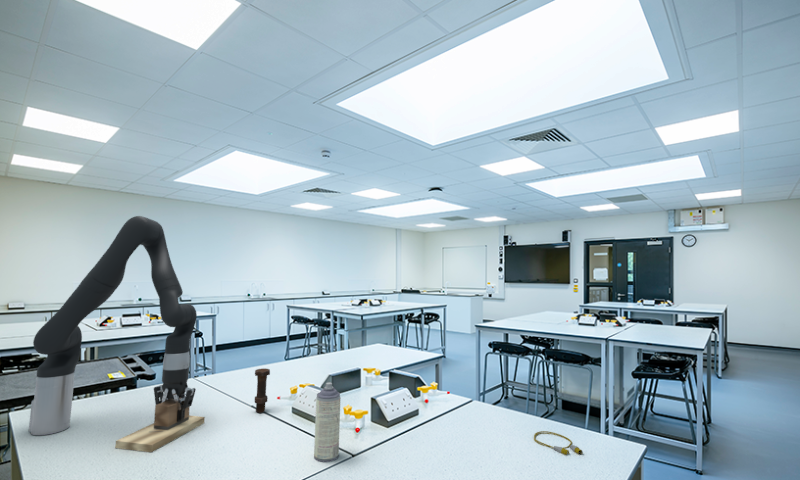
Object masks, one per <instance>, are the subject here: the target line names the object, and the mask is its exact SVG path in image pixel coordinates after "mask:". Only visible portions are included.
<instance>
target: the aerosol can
mask: <svg viewBox="0 0 800 480" xmlns="http://www.w3.org/2000/svg"><path fill="white" fill-rule="evenodd" d="M340 418H341V393H340V392H339V391H338V390H337V389H336V388H335V387H334V386H333V383H332V382H326V383H325V386H324V387H323V388H322V389H321V390H320V391H319V392H318V393H316V398H315V421H314V422H315V423H314V443H313V444H314V450H313V459H314V460H315V461H317V462H320V463H321V462H322V463H329V462H333V461H335V460H337V459H338V458H339V452H340V450H339V449H340V425H341V424H340V423H341V419H340Z"/></svg>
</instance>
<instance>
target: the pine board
mask: <svg viewBox="0 0 800 480" xmlns="http://www.w3.org/2000/svg"><path fill="white" fill-rule="evenodd" d="M205 419H206V417H205V416H199V415H190V414H189V420H187V421H185V422H183V423H181V424H179V425H177V426H175V427H173V428H171V429H169V430H162V429H154V422H153V423H151V424H148V425H147V426H145V427H143V428H140V429H138V430H136V431H134V432H131V433H130V434H128V435H125V436H122V437H121V438H119V439H117V440H115V449H119V450H128V451H137V452H144V453H145V452H146V453H153V452H155V451H157V450H158V449H160V448H162V447H164V446H165V445H168V444H169V443H171V442H173V441H175V440H176V439H178V438H180V437H182V436H183V435H186V434H188V433H189V432H190V431H194V430H195V429H197V428H198V427H200V426H201V425H204V424H205Z"/></svg>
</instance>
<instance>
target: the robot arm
mask: <svg viewBox="0 0 800 480" xmlns="http://www.w3.org/2000/svg"><path fill="white" fill-rule="evenodd" d="M139 246H143V248H144V249H145V251H146V252H147V254H148V257H149V259H150V264H151V267H150V268H151V269H150V270H151V271H150V274H151V275H150V276H151V281H152V284H153V287H154V289H155V291H156V294H157V297H158V299H159V311H160V317H161V320H162V323H164V324H165V325H166V326H168V327H170V328H174V330H173V332H172V333H170V334H169V335H167V336H166V338H165V346H164V347H165V348H164V355H163V356H164V357H163V362H162V372H161V374H162V375H161V382H162V384H159V385H157V386H154V387H153V394H154V403H155V405H157V404H160V403H162V402H166V401H169V400H171V399H174V400H175V403H178V406H177V407H178V410H177V422H180V421H182V420H183V419H184V417H185V409H186V408H187V407H191V406H192V405H193V401H194V397H195V394H196V391H197V390H196V388H195V387H189V386H188V380H189V376H190V373H189V372H190V361H191V356H190V354H191V353H190V350H191V337H192V335H193V332H194V328H195V325H196V322H197V310H196V308H195V307H194V305H192V304H190V303H179V298H181V296H182V295H183V289H182V285H181V283H180V281H179V279H178V276H177V274H176V272H175V269H174V267H173V264H172V260H171V258H170V257H171V256H170V252H169V249H168V245H167V241H166V236H165V231H164V228H163V226H162V225H161V223H160V222H158V221H156V220H153V219H151V218H148V217H145V216H143V215H135V216H132V217H131V218H129V219H127V221H126V222H125V223H123V225H122V227H121V228H120V230H119V231H118V232H117V235H116V236H115V238H114V239H113V241H112V242H111V244H110V245H109V247H108V248H107V249H106V251H104V253H103V255H102V256H101V257H100V258H99V260H98V261H97V262H96V264H95V265H94V266H93V267H92V269H90V270H89V271H88V273H87V274H86V275H85V276H84V278H83V279H82V280H81V282H80V283H79V284H78V286H77V287H76V288H75V290H73V292H72V293H71V294H70V295H69V297H68V298H67V299H66V301H65V302H64V303H63V305H62V306H61V307H60V308H59V310H58V311H56V313H54V315H53V316H52V317H51V318H50V319H48V320H47V322H45V323H44V325H42V326H41V328H40V329H39V330H38V331H37V332H36V334H35V335H34V337H33V343H32V344H33V349H34V350H35V352H37V353H38V354H40V355H45V356H46V358H45V360H44V361H43V362H42V363H41V364H40V365H39V366H38V368H37V369H36V377H35V389H34V395H33V396H34V398H33V399H32V400H31V403H30V404H31V405H30V413H29V414H30V415H29V425H28V433H30V434H31V435H32V436H33V435H34V436H44V435H45V436H46V435H52V434H55V433H60V432H62V431H65V430H67V429H68V428H70V426H71V417H72V407H73V406H72V405H73V396H74V394H73V393H74V385H75V383H74V382H75V373H76V367H77V365H78V362H79V360H80V355H81V349H82V348H81V347H82V342H83V333H82V330H81V328H80V326H79V325H80V324H81V322H82V321H83V320H84V319H85V318H87V317H88V316H89V315H90V314H91V313H93V312H95V310H97V309H98V308H100V306H102V305H103V304H104V303H105V302H107V301H108V299H110V298H111V297H112V295H113V294H114V292H115V291H116V290H117V289H118V288H119V286H120V285H121V284H122V281H123V279H124V276H125V273H126V267H127V263H128V260H129V259H130V257H131V256H132V254H133V253H134V252H135V251H136V250H137V249H138V247H139ZM179 398H181V399H179ZM181 401H182V405H181Z"/></svg>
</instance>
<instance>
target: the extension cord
mask: <svg viewBox="0 0 800 480" xmlns="http://www.w3.org/2000/svg"><path fill="white" fill-rule="evenodd" d="M541 434H544V435H545V434H546V435H554V436H557V437H560V438H562V439H565V440H566V441H567V442H568V441H569V444H568V445H567V446H564V447H562V446H557V445H554V446H553V445H552V446H551V445H550V444H547V443H544V442H541V441H539V440H538V439H536V437H537V436H538V435H541ZM533 441H534V442H535V443H536V444H538V445H541V446H543V447H547V448H551V449H553V451H555V452H557V453H560V454H561V455H565V456H567V455H569V454H570V451H569V449H568V448H570V449H571V450H572V452H573V453H575V454H577V455H581V456H582V455H583V454H584V453H583V450H582V449H581V448H580V447H579V446H577V445H574V444H572V443H573V441H572V440H571V439H570V438H568V437H566V436H564V435H562V434H560V433H557V432H553V431H547V430H546V431H545V430H544V431H543V430H542V431H537V432H535V433H534V434H533Z"/></svg>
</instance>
